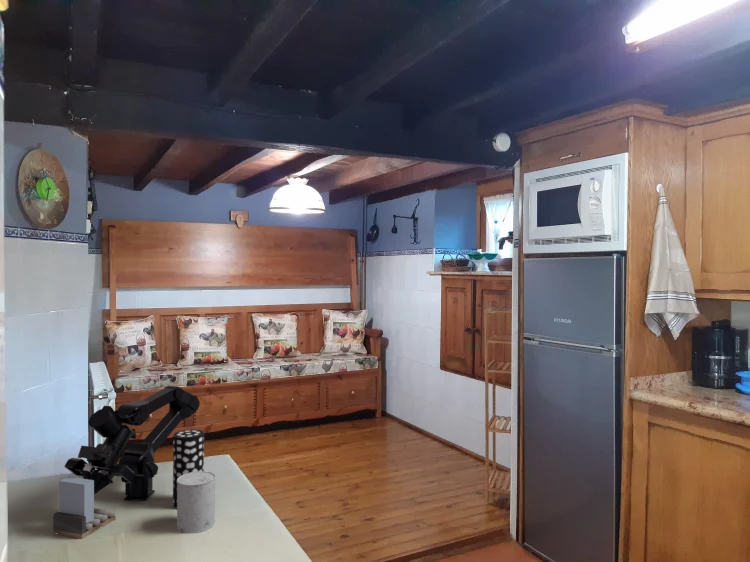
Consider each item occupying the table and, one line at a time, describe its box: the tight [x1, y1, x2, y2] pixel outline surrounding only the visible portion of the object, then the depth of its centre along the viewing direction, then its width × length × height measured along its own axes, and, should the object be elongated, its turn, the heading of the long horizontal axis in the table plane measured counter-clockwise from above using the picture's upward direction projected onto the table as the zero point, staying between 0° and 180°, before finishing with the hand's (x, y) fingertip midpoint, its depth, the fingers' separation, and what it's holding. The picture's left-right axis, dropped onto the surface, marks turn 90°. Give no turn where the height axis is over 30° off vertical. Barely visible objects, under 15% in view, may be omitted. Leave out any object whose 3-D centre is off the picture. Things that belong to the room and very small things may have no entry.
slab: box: [58, 476, 95, 523], centre depth 137 cm, size 3×8×10 cm, turn 73°
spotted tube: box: [172, 428, 205, 509], centre depth 154 cm, size 8×8×20 cm
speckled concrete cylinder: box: [176, 470, 216, 534], centre depth 141 cm, size 10×10×12 cm
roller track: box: [52, 507, 116, 540], centre depth 140 cm, size 11×9×5 cm
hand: (82, 502), depth 139 cm, fingers closed, pressing on slab
